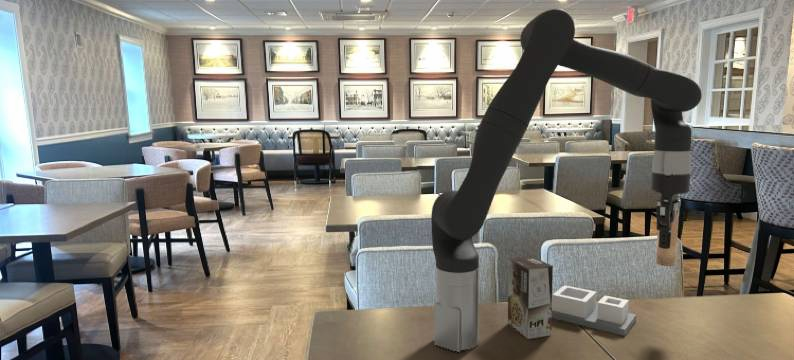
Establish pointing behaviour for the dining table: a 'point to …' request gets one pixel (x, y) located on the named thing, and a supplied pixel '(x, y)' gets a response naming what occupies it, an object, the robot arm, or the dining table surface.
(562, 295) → the socket plate
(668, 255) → the copper pipe
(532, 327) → the coffee box
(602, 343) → the dining table surface
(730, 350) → the dining table surface
